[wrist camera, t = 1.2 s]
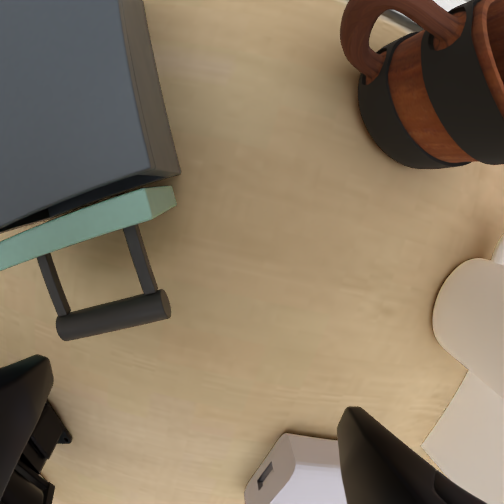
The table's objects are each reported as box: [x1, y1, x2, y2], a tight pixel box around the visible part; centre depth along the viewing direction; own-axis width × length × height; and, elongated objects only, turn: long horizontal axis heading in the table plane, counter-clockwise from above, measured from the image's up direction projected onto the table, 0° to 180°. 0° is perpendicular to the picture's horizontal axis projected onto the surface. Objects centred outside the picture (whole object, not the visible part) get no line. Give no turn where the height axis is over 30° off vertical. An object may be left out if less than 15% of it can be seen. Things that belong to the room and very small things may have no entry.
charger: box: [244, 433, 347, 504], centre depth 23 cm, size 5×9×15 cm
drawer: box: [0, 185, 177, 341], centre depth 14 cm, size 16×8×7 cm, turn 14°
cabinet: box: [0, 0, 181, 233], centre depth 13 cm, size 13×10×9 cm
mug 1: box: [340, 0, 504, 169], centre depth 13 cm, size 9×12×12 cm
